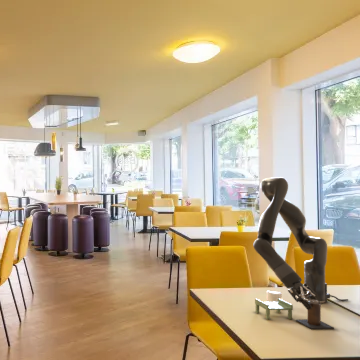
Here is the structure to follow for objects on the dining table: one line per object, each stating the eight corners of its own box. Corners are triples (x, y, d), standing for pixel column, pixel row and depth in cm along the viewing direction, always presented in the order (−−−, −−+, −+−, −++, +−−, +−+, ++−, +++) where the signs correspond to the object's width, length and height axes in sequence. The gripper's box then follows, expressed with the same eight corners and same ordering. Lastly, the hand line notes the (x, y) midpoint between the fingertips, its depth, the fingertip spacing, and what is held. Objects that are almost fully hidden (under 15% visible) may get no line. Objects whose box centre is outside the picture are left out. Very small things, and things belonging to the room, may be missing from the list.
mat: (317, 320, 174) (317, 319, 174) (334, 329, 164) (334, 327, 164) (295, 320, 173) (295, 319, 173) (311, 329, 163) (311, 327, 163)
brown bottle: (315, 321, 171) (315, 298, 171) (323, 325, 166) (323, 302, 167) (304, 321, 171) (304, 298, 171) (312, 325, 166) (312, 302, 166)
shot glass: (283, 308, 191) (283, 294, 191) (268, 307, 192) (268, 293, 192) (279, 304, 197) (279, 290, 197) (264, 303, 199) (264, 289, 199)
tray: (279, 311, 185) (279, 298, 185) (292, 319, 175) (292, 304, 176) (254, 312, 185) (254, 298, 185) (267, 319, 175) (267, 305, 175)
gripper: (285, 273, 172) (314, 305, 163) (300, 268, 180) (328, 299, 171) (273, 282, 177) (300, 314, 167) (288, 278, 184) (315, 308, 175)
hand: (314, 307), depth 169 cm, fingers open, 8 cm apart
